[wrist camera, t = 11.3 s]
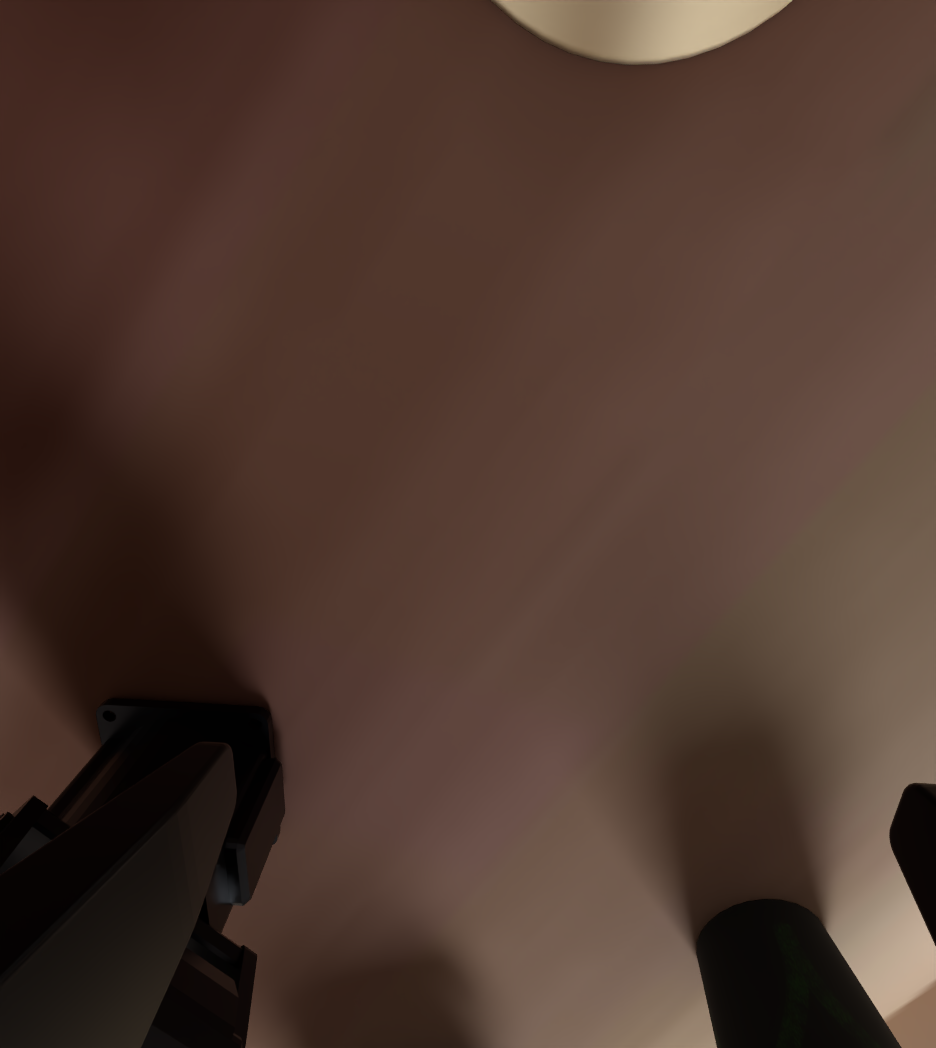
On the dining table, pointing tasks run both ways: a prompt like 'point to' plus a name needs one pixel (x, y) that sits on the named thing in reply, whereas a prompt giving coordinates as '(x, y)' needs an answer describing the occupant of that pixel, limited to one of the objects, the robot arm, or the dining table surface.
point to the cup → (783, 982)
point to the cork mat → (639, 26)
